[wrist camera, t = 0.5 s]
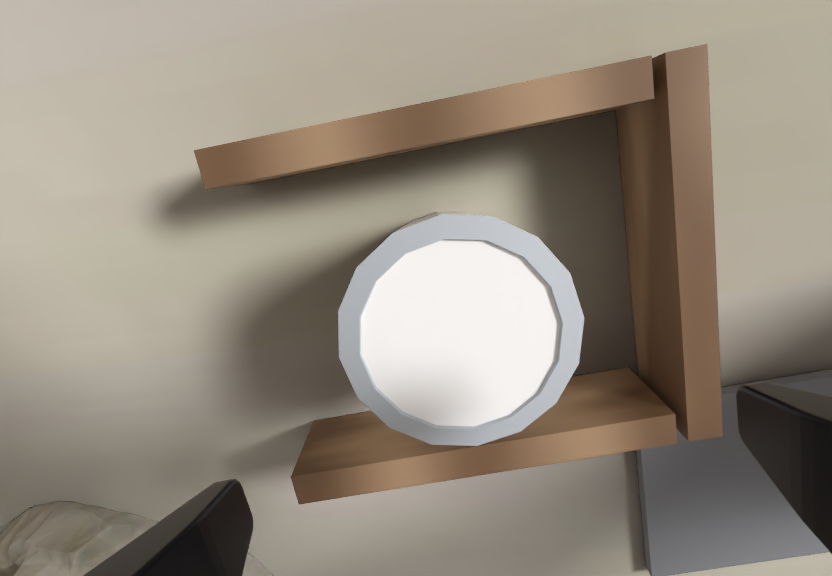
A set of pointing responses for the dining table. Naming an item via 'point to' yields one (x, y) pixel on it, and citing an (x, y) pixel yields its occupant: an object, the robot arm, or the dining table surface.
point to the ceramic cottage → (74, 540)
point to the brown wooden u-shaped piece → (647, 253)
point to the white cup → (460, 329)
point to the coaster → (719, 498)
